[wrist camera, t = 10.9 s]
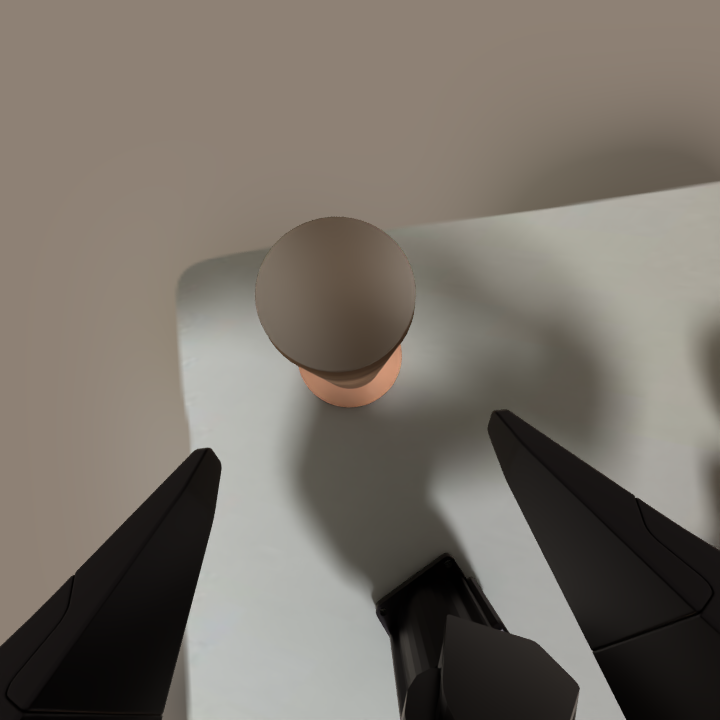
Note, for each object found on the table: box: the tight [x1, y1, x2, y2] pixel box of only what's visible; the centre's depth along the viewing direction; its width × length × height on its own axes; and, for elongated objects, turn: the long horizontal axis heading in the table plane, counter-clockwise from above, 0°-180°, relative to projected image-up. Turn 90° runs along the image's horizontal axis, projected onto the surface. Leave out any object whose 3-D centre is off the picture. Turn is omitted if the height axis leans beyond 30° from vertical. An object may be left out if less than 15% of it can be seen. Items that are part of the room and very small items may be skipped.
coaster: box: [299, 345, 402, 407], centre depth 22 cm, size 8×8×1 cm
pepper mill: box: [255, 217, 416, 389], centre depth 15 cm, size 5×5×13 cm
